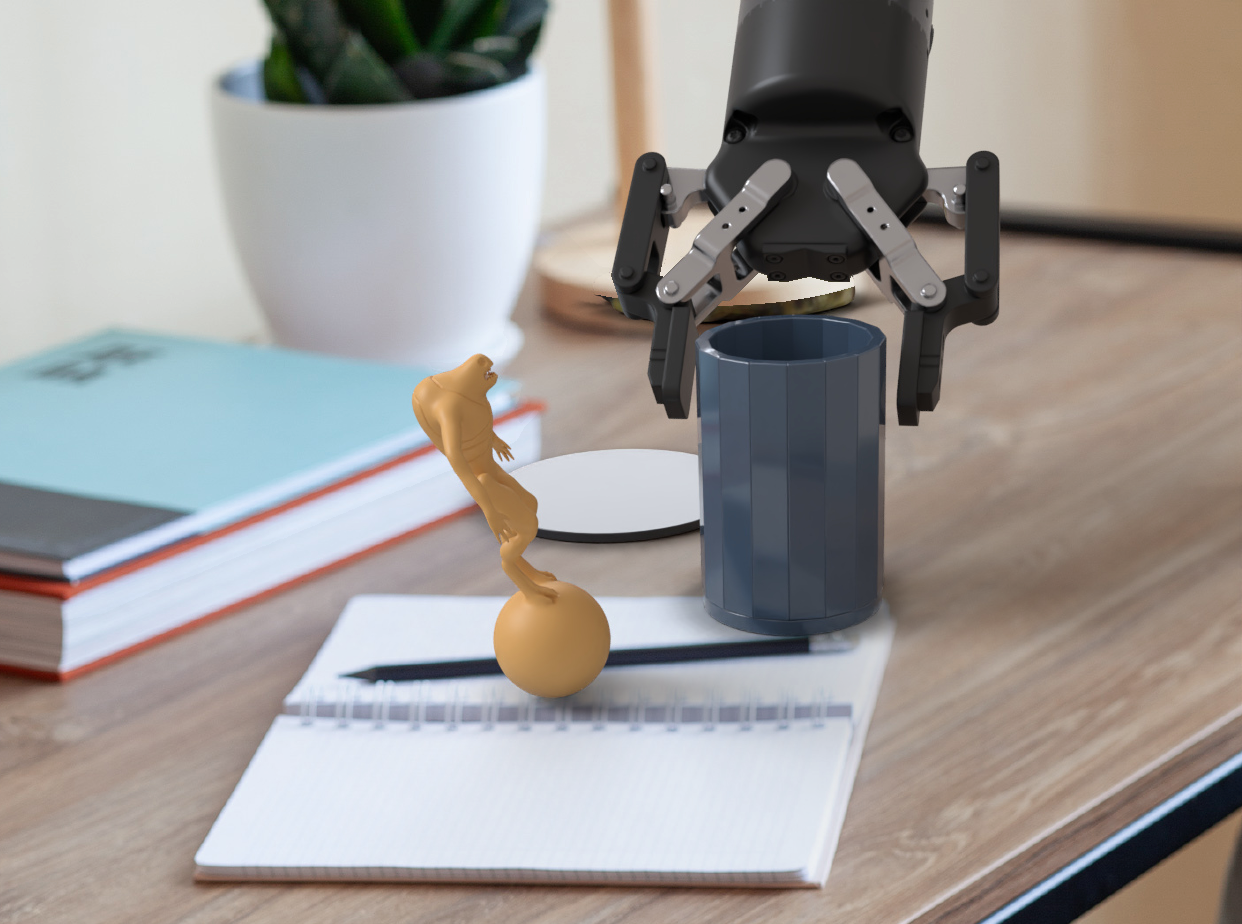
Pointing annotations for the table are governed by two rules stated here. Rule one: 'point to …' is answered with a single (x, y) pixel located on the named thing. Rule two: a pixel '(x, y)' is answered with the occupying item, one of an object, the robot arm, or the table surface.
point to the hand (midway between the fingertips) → (789, 413)
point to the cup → (791, 472)
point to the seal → (772, 306)
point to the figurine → (513, 542)
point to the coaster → (614, 494)
